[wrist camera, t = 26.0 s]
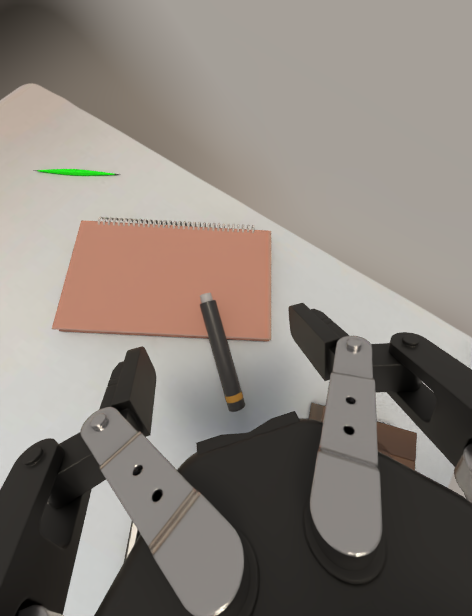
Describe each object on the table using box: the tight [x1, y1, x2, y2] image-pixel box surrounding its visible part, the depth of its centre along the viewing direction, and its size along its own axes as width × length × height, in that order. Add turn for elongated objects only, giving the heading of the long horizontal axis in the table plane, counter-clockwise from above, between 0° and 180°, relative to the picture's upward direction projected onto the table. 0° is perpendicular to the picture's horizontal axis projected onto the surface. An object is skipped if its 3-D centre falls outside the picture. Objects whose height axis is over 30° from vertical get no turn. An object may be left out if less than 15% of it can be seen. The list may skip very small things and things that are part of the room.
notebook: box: [52, 217, 271, 341], centre depth 33 cm, size 27×17×2 cm, turn 87°
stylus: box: [200, 293, 245, 412], centre depth 28 cm, size 2×2×14 cm
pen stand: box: [309, 403, 417, 470], centre depth 26 cm, size 10×10×4 cm
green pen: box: [33, 169, 121, 176], centre depth 38 cm, size 1×14×1 cm, turn 88°
